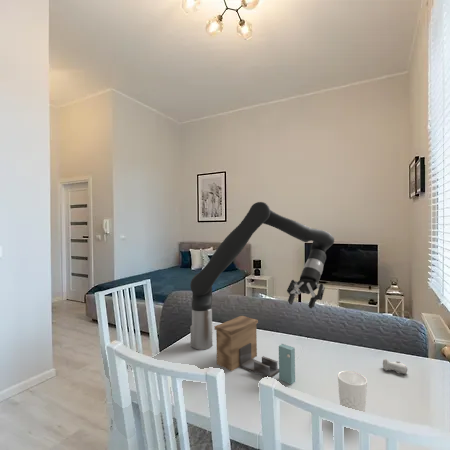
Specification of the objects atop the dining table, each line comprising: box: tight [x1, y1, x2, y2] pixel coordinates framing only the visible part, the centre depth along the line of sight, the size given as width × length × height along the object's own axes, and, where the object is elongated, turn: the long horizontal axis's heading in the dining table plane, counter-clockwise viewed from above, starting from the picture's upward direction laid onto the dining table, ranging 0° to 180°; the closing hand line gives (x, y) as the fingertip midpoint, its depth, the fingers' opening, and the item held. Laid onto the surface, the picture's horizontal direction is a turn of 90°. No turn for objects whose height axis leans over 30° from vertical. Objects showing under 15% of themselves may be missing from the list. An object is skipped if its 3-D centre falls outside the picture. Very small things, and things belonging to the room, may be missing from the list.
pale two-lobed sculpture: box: [382, 357, 408, 375], centre depth 107 cm, size 4×8×5 cm
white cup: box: [337, 370, 368, 413], centre depth 84 cm, size 8×8×10 cm
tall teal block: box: [278, 343, 296, 385], centre depth 101 cm, size 5×3×12 cm
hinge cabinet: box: [214, 315, 279, 378], centre depth 112 cm, size 22×17×15 cm
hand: (299, 305), depth 111 cm, fingers open, 8 cm apart
